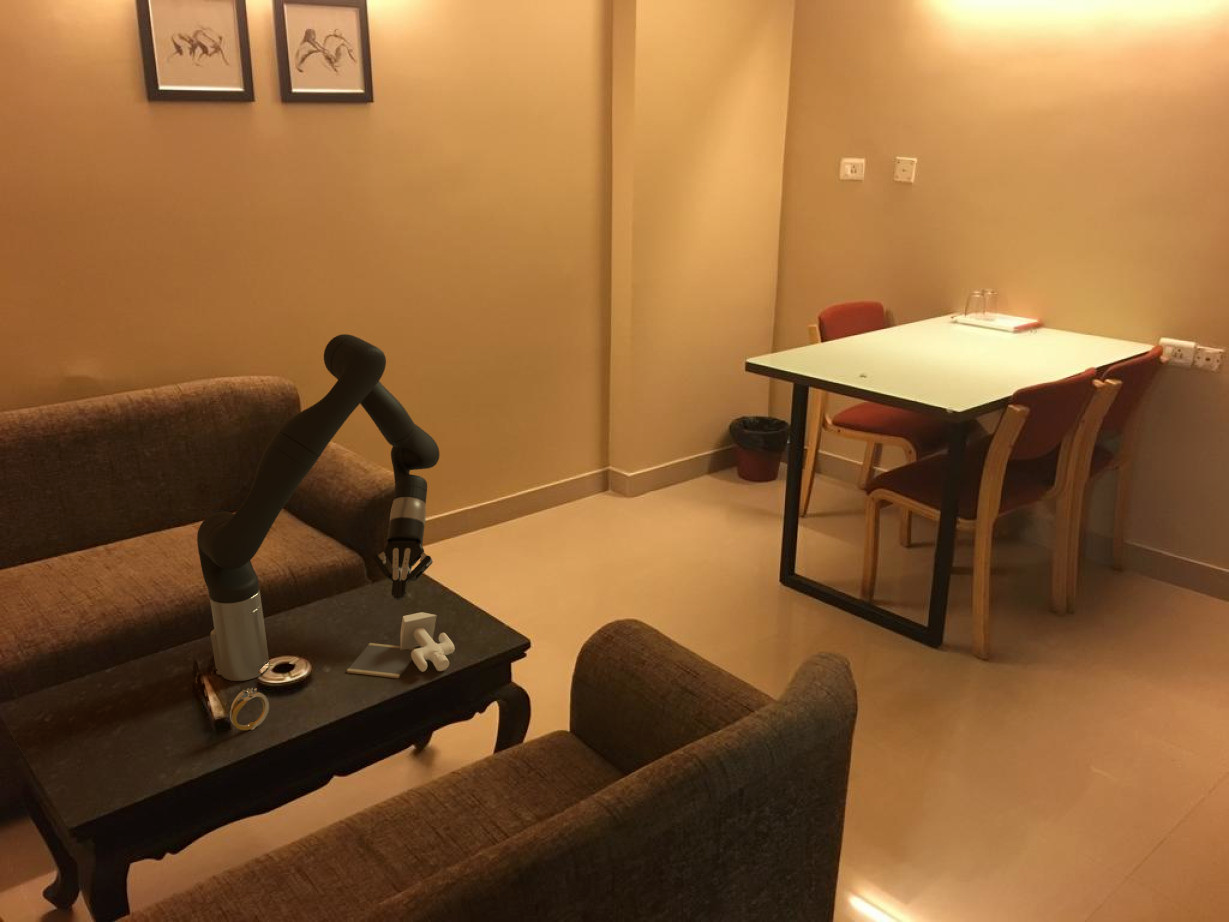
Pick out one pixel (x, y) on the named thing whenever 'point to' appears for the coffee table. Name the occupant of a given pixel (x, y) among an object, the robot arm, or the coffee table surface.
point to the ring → (246, 696)
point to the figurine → (425, 641)
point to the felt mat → (382, 660)
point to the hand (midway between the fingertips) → (398, 599)
